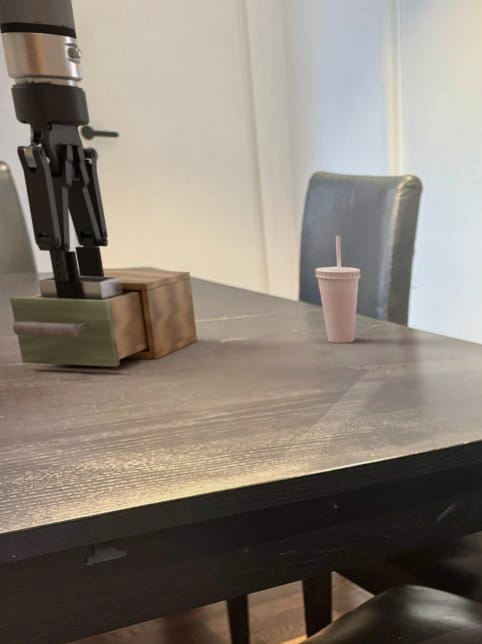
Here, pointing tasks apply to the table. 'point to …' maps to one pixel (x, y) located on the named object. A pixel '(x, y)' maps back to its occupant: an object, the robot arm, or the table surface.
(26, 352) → the drawer
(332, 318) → the smoothie
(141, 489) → the table surface
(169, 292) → the cabinet
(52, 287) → the grey rectangular box
